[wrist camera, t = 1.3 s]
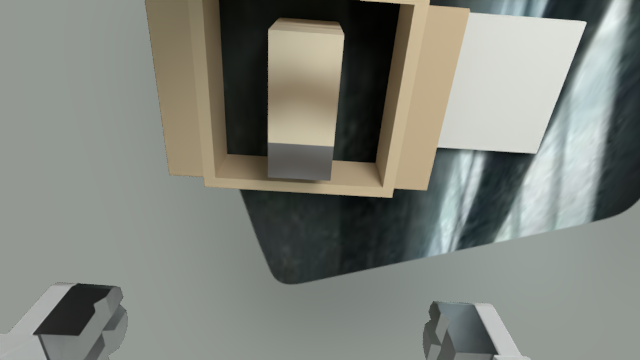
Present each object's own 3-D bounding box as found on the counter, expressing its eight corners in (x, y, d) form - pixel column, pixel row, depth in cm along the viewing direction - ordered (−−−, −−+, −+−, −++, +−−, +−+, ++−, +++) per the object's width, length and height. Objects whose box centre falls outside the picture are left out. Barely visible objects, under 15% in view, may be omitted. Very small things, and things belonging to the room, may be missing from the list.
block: (279, 17, 31) (268, 29, 24) (338, 21, 32) (344, 35, 25) (277, 138, 37) (267, 177, 30) (328, 141, 37) (330, 180, 30)
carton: (166, -33, 30) (140, -34, 25) (451, -10, 30) (474, -7, 26) (187, 160, 38) (170, 184, 33) (412, 174, 39) (424, 199, 34)
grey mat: (465, 12, 31) (468, 13, 31) (580, 21, 32) (586, 22, 31) (433, 143, 37) (436, 147, 36) (532, 150, 37) (536, 153, 37)
